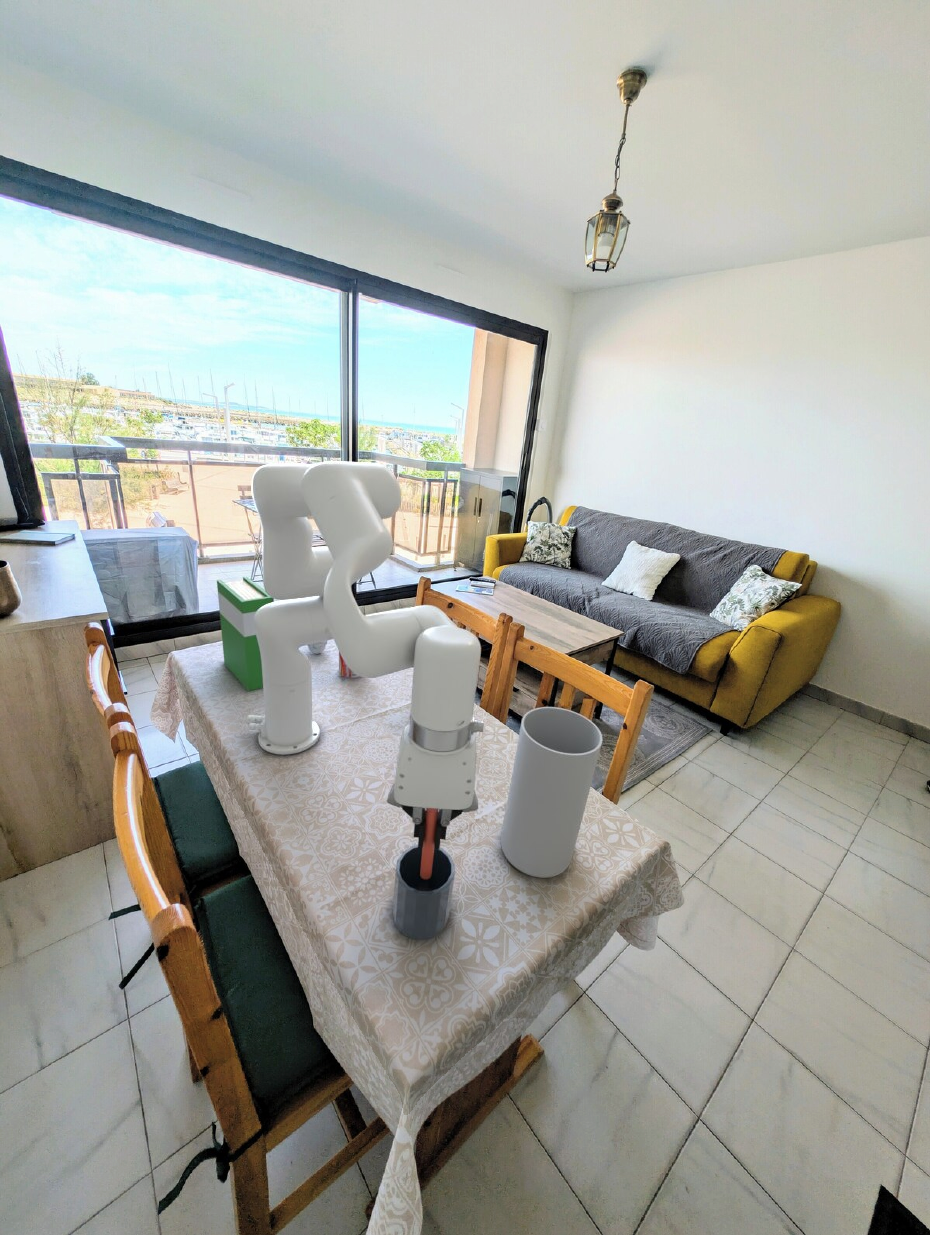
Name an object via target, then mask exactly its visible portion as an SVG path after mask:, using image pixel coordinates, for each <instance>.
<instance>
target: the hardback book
mask: <svg viewBox="0 0 930 1235" xmlns="http://www.w3.org/2000/svg"><path fill="white" fill-rule="evenodd" d="M216 587H217V598H218V599H217V600H218V609H219V619H220V630H221V642H222V652H223V663H224V664H225V666H226V667H227V668H228V670H230V672H232V674H233V675H234V676H235V677H236V678H237V680H238V681H239V683H240V684H242V686H243V687H244V688H245V689H246V690H247V692H251V691H255V690H258V689H261V688H262V689H263V676H262V662H261V654H260V649H259V644H258V640H257V636H256V632H255V627H254V616H255V614H256V612H257V611H258V610H259V609H260V608H261V607H263V606H264V605H267V604H270V603H273V602H275V599H274V598H271V597H270V596H269V595H268V594H267V593H266V591H265V588H262V587H261V586H260V585H259V584H257V583H256V582H254V581H253V580H252V579H250V578H249V577H248V576H242V579H241V580H235V581H227V582H226V581H225V582H224V581H223V580H222V579H217V580H216Z"/></svg>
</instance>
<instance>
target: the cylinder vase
mask: <svg viewBox="0 0 930 1235" xmlns="http://www.w3.org/2000/svg"><path fill="white" fill-rule="evenodd" d="M518 733H519V734H518V740H517V745H516V750H515V755H514V761H513V766H512V773H511V777H510V784H509V789H508V795H507V801H506V805H505V812H504V815H503V816H504V817H503V823H502V827H501V828H502V829H501V833H500V834H501V835H500V846H501V850H502V852H503V854H504V856H505V858H506V859H507V860H508V862H509V863H510V864H511V865H512V866H513V867H514V868H515V869H517V870H518V871H520V872H521V873H523V874H526V875H528V876H531V877H535V878H542V879H547V878H553V877H557V876H559V875H560V874H562V873H564V872H565V871H566V870H567V869H568V868H569V866H570V865H571V863H572V861H573V860H572V859H573V856H574V852H575V849H576V844H577V840H578V838H579V837H578V836H579V833H580V829H581V826H582V822H583V818H584V814H585V810H586V806H587V801H588V798H589V794H590V790H591V787H592V782H593V779H594V776H595V772H596V768H597V764H598V759H599V755H600V751H601V748H602V744H603V734H602V732H601V730H600V728H599V727H598V726H597V725H596V723H594V722H593V721H592V720H590V719H589V718H587V717H586V716H584V715H582V714H580V713H578V712H575V711H574V710H571V709H566V708H562V707H555V706H542V707H536V708H533V709H531V710H528V711H526V713H525V714H523V716H522V718H521V723H520V728H519V732H518Z"/></svg>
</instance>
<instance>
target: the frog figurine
mask: <svg viewBox="0 0 930 1235" xmlns="http://www.w3.org/2000/svg"><path fill="white" fill-rule="evenodd" d="M327 645H328V640H327V641H322V642H318V643H313V644H308V645H306V646H307V648H308V650H309V651H310V652H311V653H312V654H316V655H317V654H321V653H322V652H324V651H325V650H326V647H327Z"/></svg>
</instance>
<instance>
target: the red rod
mask: <svg viewBox="0 0 930 1235" xmlns="http://www.w3.org/2000/svg"><path fill="white" fill-rule="evenodd" d="M425 811H426V816H425V819H426V821H425V832H424V843H423V849H422V859H421V870H420V876H421V878H423V879H429V878H430V877H431V874H432V865H433V855H434V843H435V833H436V823H437V817H438V812H439V809H437V808H425Z"/></svg>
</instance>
